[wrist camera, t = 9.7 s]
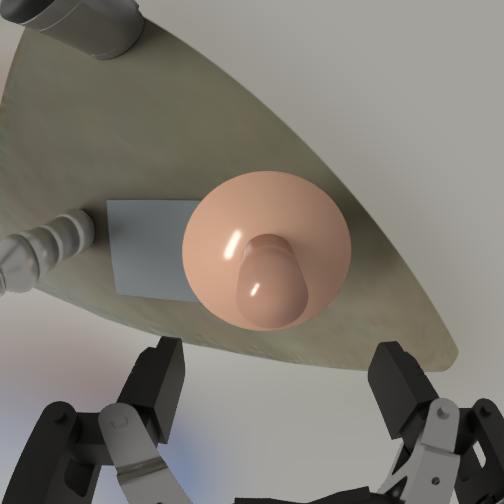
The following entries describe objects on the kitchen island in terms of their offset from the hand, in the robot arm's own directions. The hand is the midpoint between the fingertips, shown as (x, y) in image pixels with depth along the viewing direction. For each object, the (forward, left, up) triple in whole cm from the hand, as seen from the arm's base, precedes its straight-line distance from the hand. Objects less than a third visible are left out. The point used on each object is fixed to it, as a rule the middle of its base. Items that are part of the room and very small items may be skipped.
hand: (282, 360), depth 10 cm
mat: (+5, -14, -25) cm, 29 cm away
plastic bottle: (+2, -26, -25) cm, 36 cm away
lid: (0, 0, -12) cm, 12 cm away
